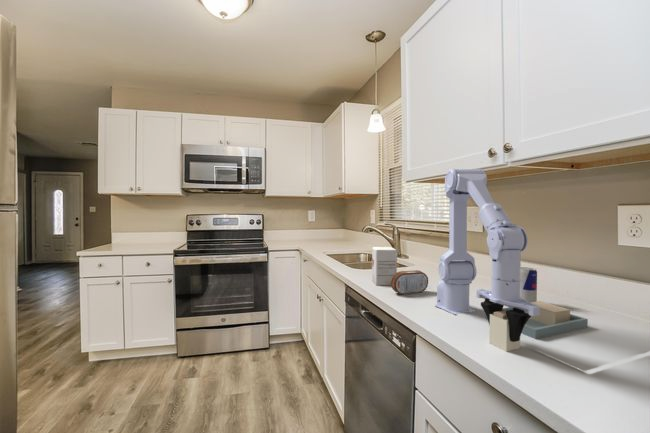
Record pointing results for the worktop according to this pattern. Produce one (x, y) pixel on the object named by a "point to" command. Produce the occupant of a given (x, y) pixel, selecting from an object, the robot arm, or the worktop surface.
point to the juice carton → (501, 332)
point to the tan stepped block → (551, 313)
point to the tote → (551, 326)
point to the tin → (409, 282)
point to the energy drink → (528, 284)
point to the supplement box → (383, 265)
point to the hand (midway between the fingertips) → (504, 336)
